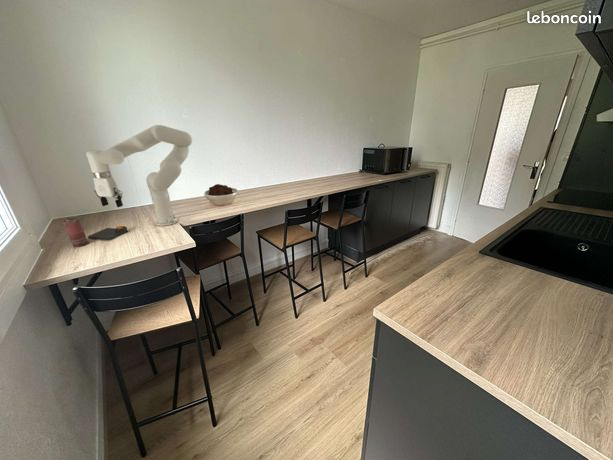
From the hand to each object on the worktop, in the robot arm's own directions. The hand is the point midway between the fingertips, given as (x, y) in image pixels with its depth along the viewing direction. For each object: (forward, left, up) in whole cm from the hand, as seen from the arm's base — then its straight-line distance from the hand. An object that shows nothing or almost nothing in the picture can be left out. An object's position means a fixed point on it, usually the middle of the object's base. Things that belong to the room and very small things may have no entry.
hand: (112, 205), depth 139 cm
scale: (+5, +4, -16) cm, 18 cm away
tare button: (0, 0, -14) cm, 14 cm away
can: (+8, +17, -17) cm, 25 cm away
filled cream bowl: (-31, -62, -16) cm, 71 cm away
